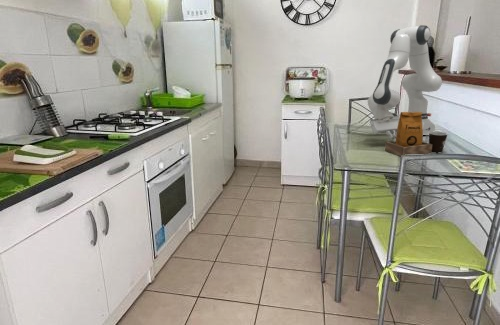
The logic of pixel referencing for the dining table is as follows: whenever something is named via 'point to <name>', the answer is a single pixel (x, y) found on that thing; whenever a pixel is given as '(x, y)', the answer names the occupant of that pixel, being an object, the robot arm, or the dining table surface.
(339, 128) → the dining table surface
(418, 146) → the frame
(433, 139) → the coffee mug
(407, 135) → the coffee package
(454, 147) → the dining table surface
